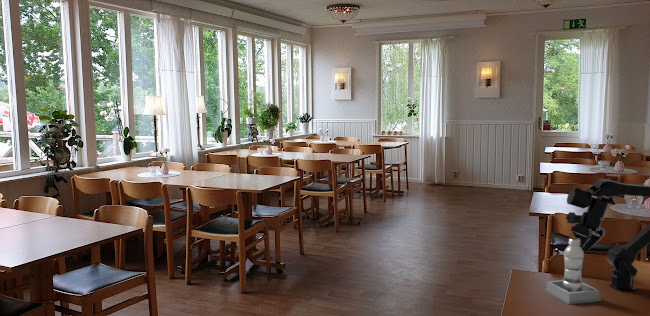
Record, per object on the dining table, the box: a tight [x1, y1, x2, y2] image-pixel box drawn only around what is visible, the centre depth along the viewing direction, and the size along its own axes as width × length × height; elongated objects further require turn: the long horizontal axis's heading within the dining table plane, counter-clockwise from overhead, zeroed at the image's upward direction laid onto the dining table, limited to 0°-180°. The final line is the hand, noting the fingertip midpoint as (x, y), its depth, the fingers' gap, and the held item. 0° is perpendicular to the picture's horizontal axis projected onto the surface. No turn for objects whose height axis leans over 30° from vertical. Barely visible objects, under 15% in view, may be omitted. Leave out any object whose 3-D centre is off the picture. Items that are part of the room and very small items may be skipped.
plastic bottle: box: [562, 237, 585, 292], centre depth 176 cm, size 6×7×20 cm
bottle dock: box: [543, 279, 602, 305], centre depth 177 cm, size 13×13×4 cm
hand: (580, 251), depth 185 cm, fingers open, 9 cm apart
